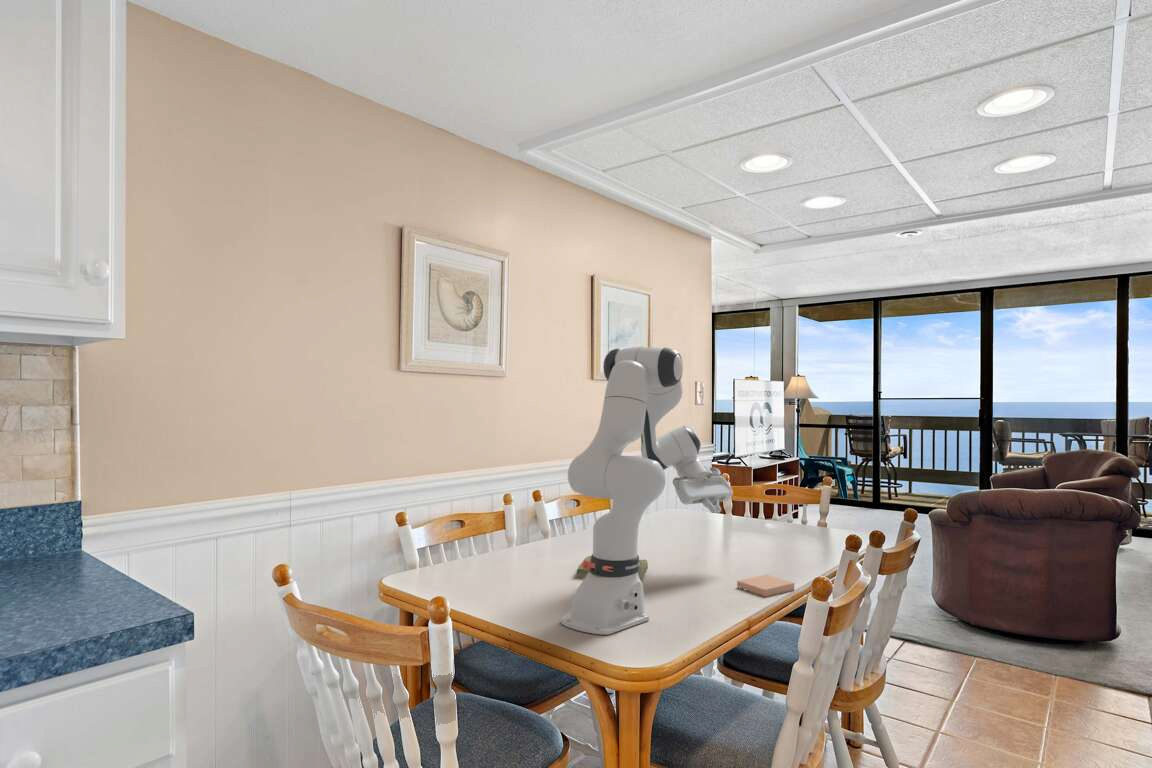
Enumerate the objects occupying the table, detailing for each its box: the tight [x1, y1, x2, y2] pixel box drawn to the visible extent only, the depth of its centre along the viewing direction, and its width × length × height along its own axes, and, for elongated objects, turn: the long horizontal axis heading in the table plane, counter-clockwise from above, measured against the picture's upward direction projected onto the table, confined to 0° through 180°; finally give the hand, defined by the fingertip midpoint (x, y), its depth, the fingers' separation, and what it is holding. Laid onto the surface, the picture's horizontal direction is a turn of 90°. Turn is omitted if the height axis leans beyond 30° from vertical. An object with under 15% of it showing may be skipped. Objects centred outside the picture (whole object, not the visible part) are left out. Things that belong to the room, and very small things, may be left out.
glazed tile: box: [736, 574, 795, 598], centre depth 178 cm, size 12×2×10 cm
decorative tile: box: [575, 555, 649, 583], centre depth 193 cm, size 19×20×4 cm
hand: (717, 511), depth 194 cm, fingers closed
